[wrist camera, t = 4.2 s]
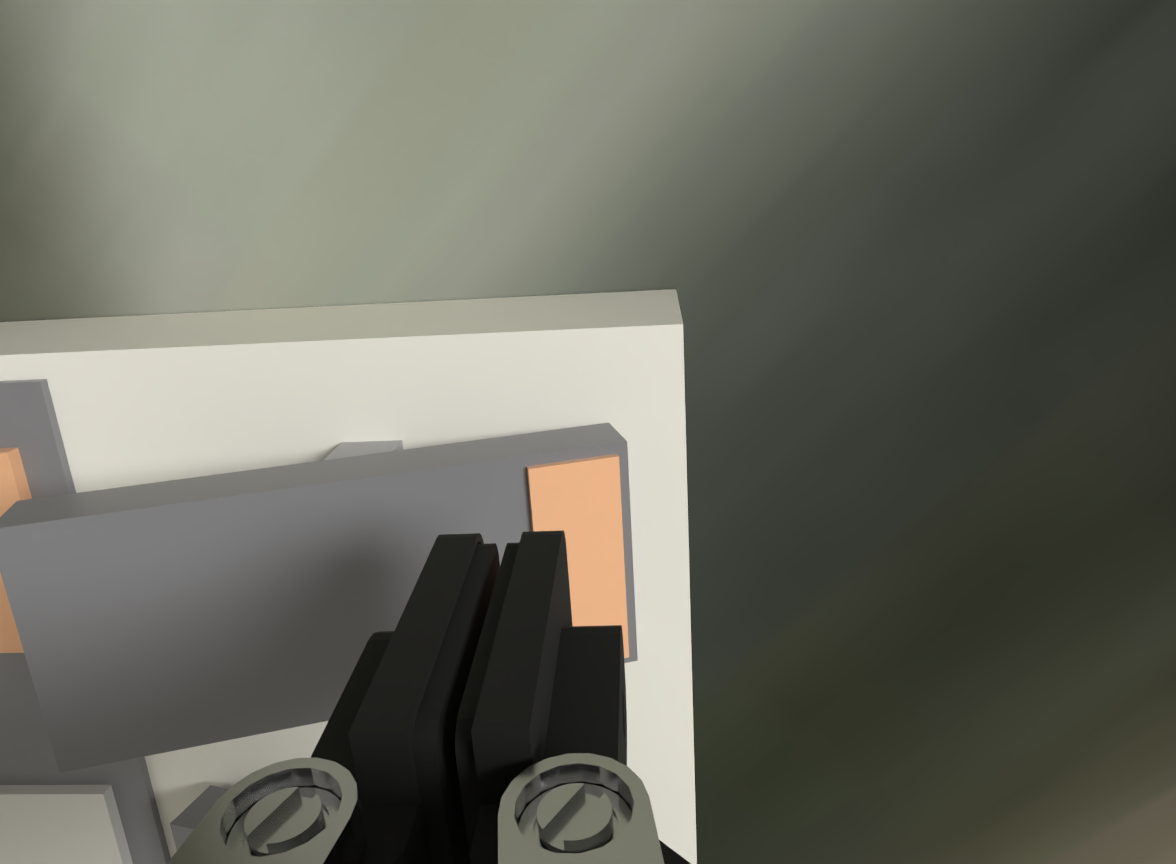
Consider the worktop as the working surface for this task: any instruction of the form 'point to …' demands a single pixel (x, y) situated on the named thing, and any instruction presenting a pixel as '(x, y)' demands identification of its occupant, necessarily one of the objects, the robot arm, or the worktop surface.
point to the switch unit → (322, 432)
